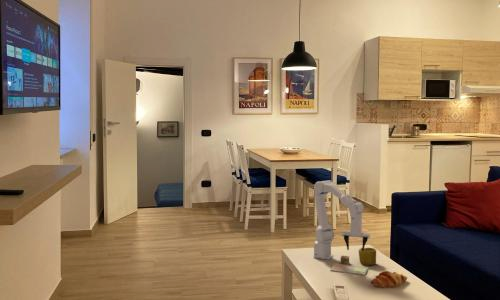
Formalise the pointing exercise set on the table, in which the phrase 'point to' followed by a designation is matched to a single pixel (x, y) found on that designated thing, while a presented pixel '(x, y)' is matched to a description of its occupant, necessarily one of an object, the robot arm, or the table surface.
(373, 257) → the mug
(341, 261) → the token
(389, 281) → the croissant
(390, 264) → the table surface
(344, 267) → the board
